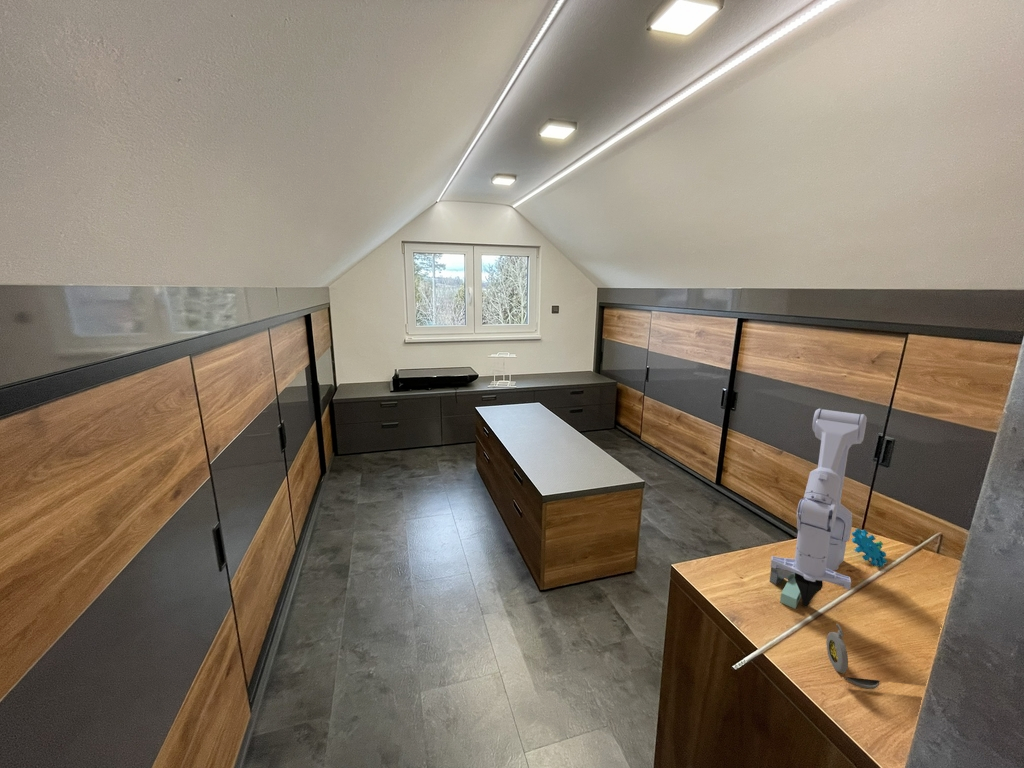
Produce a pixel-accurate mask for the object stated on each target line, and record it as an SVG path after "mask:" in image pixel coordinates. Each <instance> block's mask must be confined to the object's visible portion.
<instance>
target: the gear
mask: <svg viewBox="0 0 1024 768" xmlns="http://www.w3.org/2000/svg"><path fill="white" fill-rule="evenodd" d="M850 535H852V536H853V538H852V539H851V542H852V543H853V544H855V545H857V546H855V548H854V549H853V550H854V551H855V552H857V553H864V555H862V556H861V557H862V558H863V560H864V561H869V560H870V561H869V563H870V564H871V565H872V567H879V568H882V567H885V565H884V564H887V563H888V560H887V559H886V558H885V557H887V553H886V552H885V551H882V548H883V546H884V543H883V542H882V541H876V542H874V541H875V540H877V539H876V537H875V536H874V535H873V534H870V535H869V532H868V531H867V530H866V529H861V528H855V529H854V531H853V532H851V534H850ZM867 535H868V536H867Z"/></svg>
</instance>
